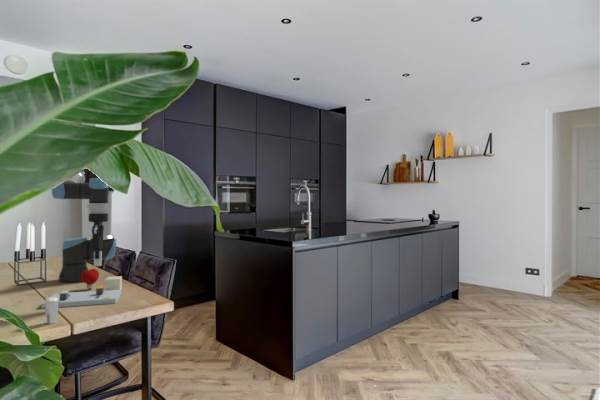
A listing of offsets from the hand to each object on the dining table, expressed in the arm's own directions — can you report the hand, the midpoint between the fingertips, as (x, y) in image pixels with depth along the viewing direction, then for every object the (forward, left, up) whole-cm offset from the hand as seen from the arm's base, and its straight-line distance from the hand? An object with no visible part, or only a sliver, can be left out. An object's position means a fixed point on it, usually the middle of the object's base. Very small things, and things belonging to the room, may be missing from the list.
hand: (97, 265), depth 160 cm
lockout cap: (-18, +4, -16) cm, 24 cm away
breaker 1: (-1, -13, -14) cm, 19 cm away
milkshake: (+25, -10, -16) cm, 32 cm away
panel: (-4, -6, -16) cm, 18 cm away
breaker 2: (-6, 0, -14) cm, 15 cm away
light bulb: (-26, -8, -16) cm, 32 cm away
